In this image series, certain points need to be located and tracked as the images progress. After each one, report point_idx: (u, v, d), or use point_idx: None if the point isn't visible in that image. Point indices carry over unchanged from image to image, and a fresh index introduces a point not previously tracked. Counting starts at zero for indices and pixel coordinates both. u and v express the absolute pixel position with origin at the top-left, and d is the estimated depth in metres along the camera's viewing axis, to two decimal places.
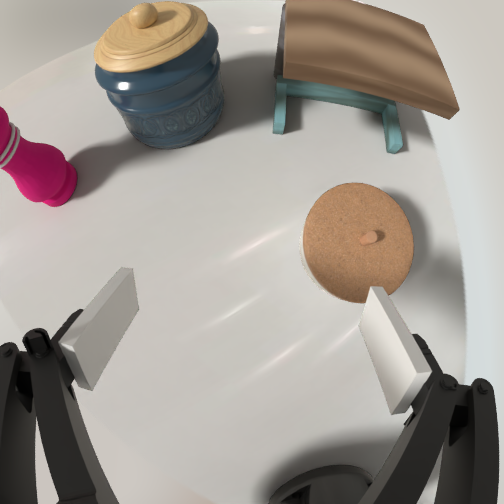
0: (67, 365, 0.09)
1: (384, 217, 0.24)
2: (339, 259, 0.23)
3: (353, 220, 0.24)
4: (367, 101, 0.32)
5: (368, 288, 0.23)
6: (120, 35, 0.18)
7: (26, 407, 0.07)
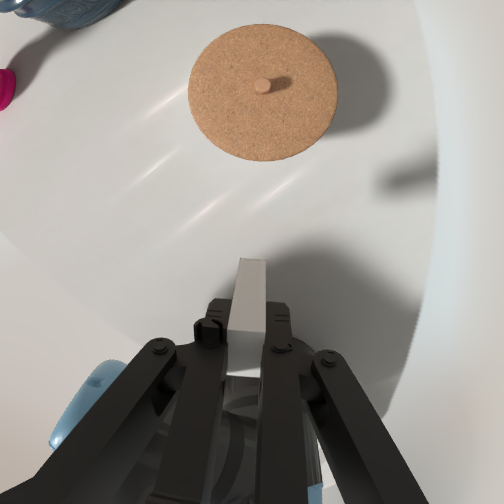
0: (227, 353, 0.11)
1: (293, 61, 0.17)
2: (227, 111, 0.18)
3: (248, 66, 0.17)
4: None
5: (266, 144, 0.19)
6: None
7: (156, 408, 0.09)
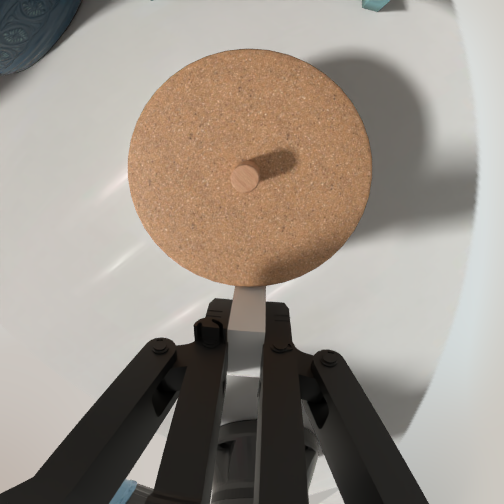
0: (227, 353, 0.11)
1: (298, 118, 0.10)
2: (191, 217, 0.12)
3: (219, 134, 0.11)
4: None
5: (256, 266, 0.13)
6: None
7: (156, 408, 0.09)
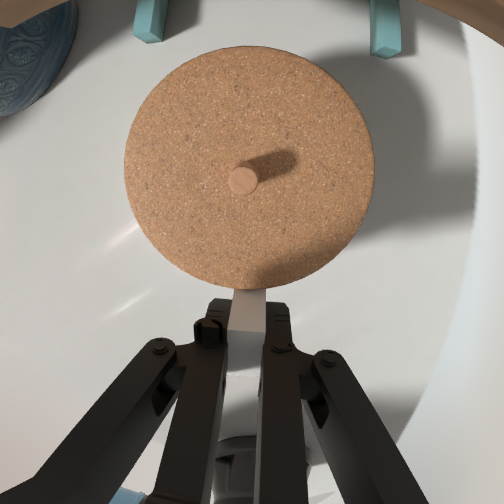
0: (227, 353, 0.11)
1: (298, 117, 0.10)
2: (190, 220, 0.12)
3: (216, 134, 0.10)
4: None
5: (257, 269, 0.13)
6: None
7: (156, 408, 0.09)
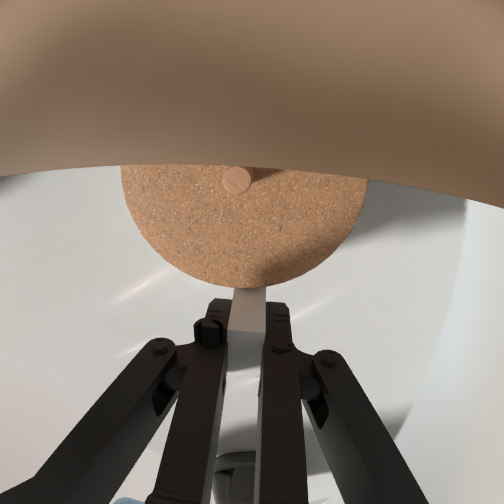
0: (227, 353, 0.11)
1: None
2: (187, 221, 0.12)
3: None
4: None
5: (256, 267, 0.13)
6: None
7: (156, 408, 0.09)
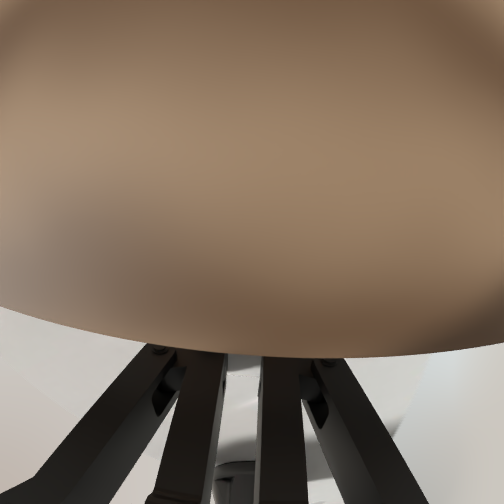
0: (227, 353, 0.11)
1: None
2: None
3: None
4: None
5: None
6: None
7: (156, 408, 0.09)
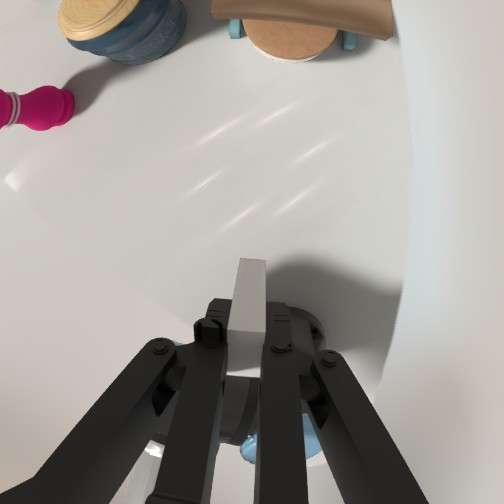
0: (227, 353, 0.11)
1: None
2: (271, 31, 0.24)
3: None
4: None
5: (298, 47, 0.25)
6: (74, 10, 0.16)
7: (156, 408, 0.09)
